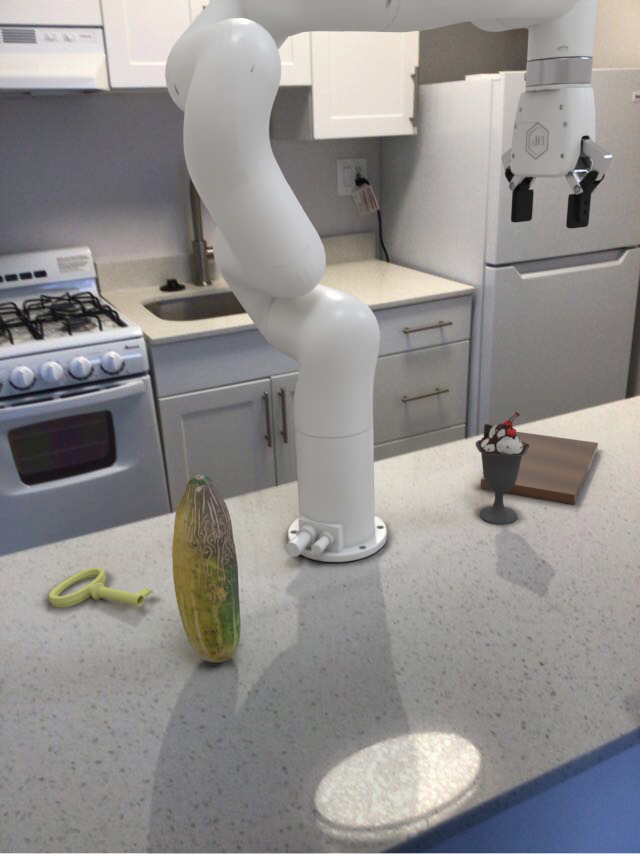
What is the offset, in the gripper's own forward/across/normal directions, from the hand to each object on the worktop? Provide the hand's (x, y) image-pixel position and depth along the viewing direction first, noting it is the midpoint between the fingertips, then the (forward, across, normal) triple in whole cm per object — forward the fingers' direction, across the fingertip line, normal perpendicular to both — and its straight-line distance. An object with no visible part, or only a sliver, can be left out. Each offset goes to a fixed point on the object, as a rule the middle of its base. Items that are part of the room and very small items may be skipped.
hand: (548, 224), depth 97 cm
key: (+37, -4, -62) cm, 72 cm away
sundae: (+36, +6, -11) cm, 38 cm away
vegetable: (+36, +13, -54) cm, 67 cm away
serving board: (+36, -2, +4) cm, 37 cm away
